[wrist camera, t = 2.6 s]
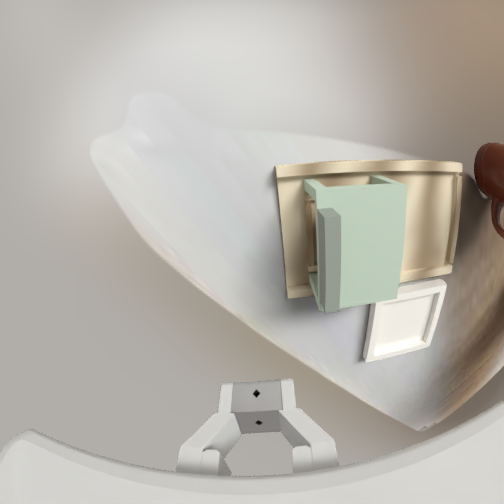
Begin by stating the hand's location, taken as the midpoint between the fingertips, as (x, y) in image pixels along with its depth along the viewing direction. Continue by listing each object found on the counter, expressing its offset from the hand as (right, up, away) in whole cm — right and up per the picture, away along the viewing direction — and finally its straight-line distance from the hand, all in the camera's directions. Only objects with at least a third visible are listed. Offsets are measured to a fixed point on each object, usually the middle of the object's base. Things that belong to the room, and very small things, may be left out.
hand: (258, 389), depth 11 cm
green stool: (+9, +8, +16) cm, 20 cm away
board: (+14, +9, +17) cm, 23 cm away
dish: (+20, -3, +22) cm, 30 cm away
